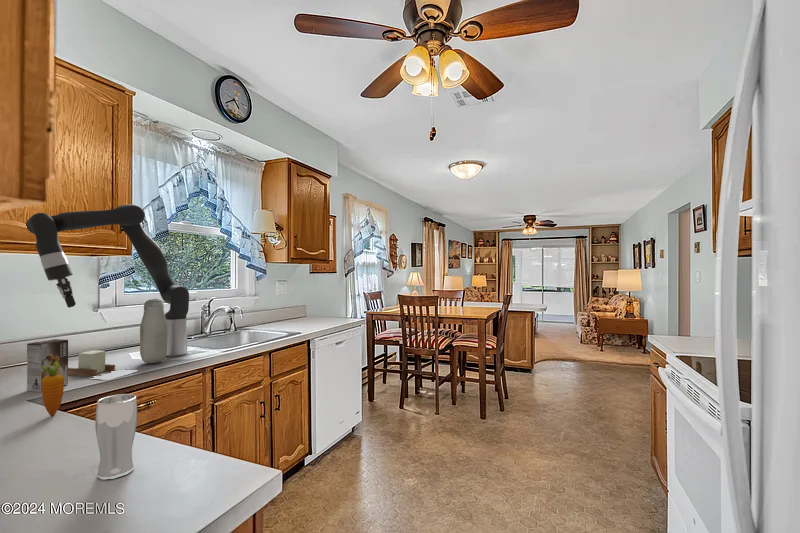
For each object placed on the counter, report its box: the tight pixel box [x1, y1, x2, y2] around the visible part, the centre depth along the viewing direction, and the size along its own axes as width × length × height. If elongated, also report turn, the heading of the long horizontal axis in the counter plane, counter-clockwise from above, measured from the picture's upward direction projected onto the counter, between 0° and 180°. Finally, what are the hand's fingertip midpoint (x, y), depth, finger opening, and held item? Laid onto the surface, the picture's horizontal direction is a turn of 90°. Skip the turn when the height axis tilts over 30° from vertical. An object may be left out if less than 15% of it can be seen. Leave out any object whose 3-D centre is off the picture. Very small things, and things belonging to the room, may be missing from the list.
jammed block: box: [77, 349, 106, 374], centre depth 160 cm, size 6×6×8 cm
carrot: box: [41, 361, 65, 417], centre depth 113 cm, size 5×5×15 cm
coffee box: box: [26, 338, 69, 393], centre depth 140 cm, size 9×6×16 cm
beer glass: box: [94, 393, 138, 477], centre depth 82 cm, size 7×7×15 cm
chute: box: [68, 363, 116, 377], centre depth 160 cm, size 9×13×2 cm
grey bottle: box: [139, 298, 168, 364], centre depth 178 cm, size 10×10×28 cm
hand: (72, 306), depth 155 cm, fingers open, 8 cm apart
